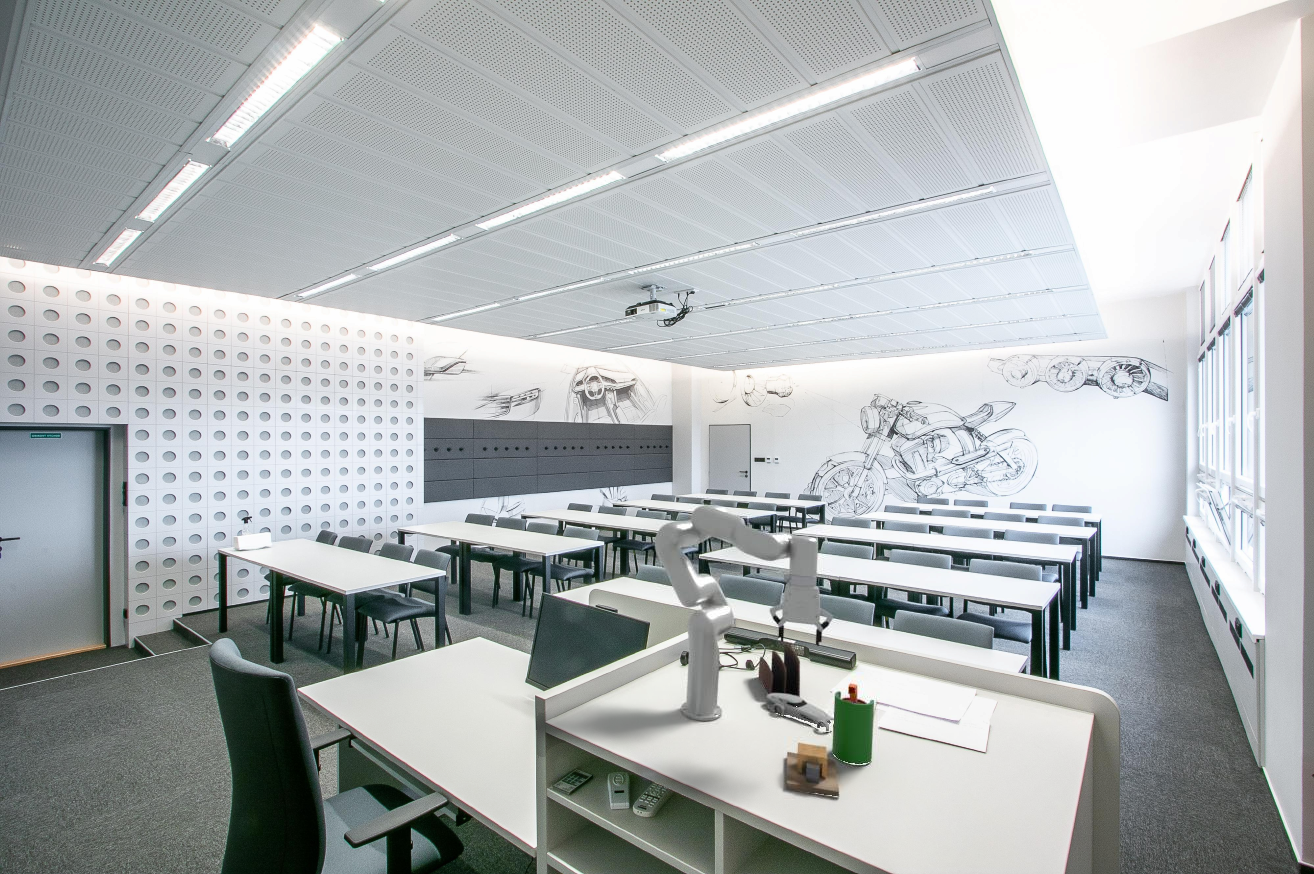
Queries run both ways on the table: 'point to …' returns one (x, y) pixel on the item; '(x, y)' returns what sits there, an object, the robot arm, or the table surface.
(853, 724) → the motor
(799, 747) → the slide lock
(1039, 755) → the table surface
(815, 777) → the rail
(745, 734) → the table surface
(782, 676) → the letter holder
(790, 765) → the rail base
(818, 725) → the car model
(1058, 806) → the table surface
